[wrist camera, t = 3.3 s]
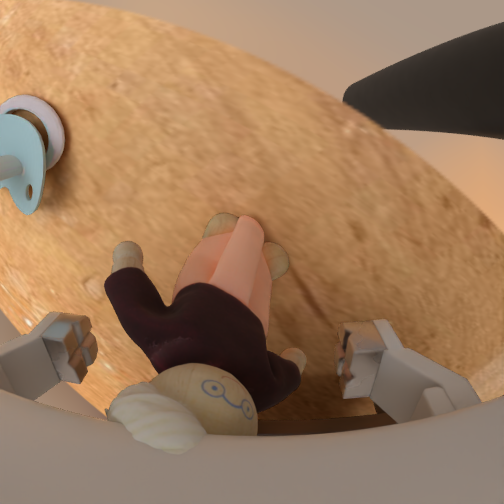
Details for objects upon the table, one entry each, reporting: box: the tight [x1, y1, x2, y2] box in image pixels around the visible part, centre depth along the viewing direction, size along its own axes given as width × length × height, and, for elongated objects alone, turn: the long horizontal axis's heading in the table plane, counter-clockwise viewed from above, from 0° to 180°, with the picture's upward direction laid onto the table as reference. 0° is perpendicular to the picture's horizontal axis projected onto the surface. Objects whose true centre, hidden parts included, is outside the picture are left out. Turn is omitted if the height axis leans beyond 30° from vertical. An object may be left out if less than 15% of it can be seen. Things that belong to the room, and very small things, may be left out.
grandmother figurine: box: [104, 213, 306, 455], centre depth 10 cm, size 8×4×13 cm, turn 65°
